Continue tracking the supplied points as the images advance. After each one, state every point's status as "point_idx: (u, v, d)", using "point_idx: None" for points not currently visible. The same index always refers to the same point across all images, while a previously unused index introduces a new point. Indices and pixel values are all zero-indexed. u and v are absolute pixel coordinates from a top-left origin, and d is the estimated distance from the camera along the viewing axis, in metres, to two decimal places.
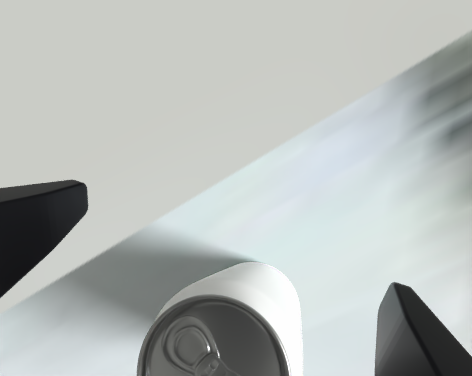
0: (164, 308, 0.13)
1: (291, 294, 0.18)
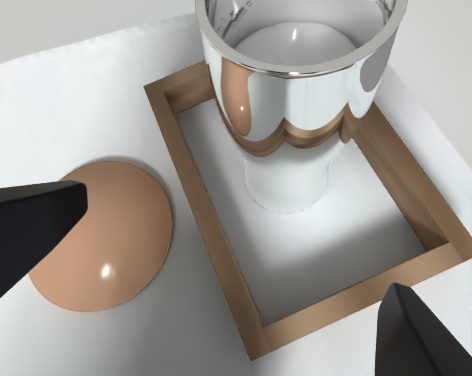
0: None
1: None
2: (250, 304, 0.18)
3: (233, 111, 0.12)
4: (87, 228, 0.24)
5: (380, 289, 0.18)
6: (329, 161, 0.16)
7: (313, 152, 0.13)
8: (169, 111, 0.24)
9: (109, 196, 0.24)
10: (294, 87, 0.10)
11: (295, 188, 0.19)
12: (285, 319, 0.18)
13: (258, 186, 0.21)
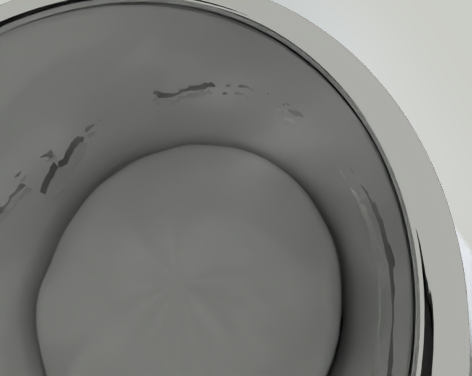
0: None
1: None
2: None
3: None
4: None
5: None
6: None
7: None
8: None
9: None
10: None
11: None
12: None
13: None
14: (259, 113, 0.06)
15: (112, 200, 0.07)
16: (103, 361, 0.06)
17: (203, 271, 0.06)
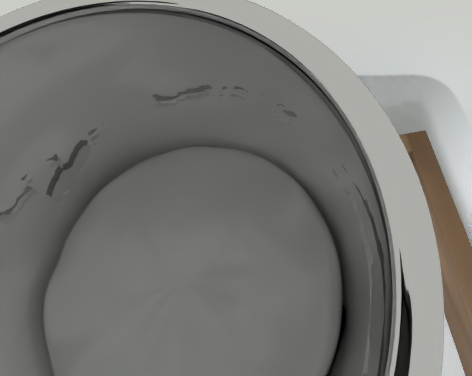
0: None
1: None
2: None
3: None
4: None
5: None
6: None
7: None
8: None
9: None
10: None
11: None
12: None
13: None
14: (255, 114, 0.06)
15: (116, 201, 0.08)
16: (107, 358, 0.06)
17: (203, 270, 0.07)
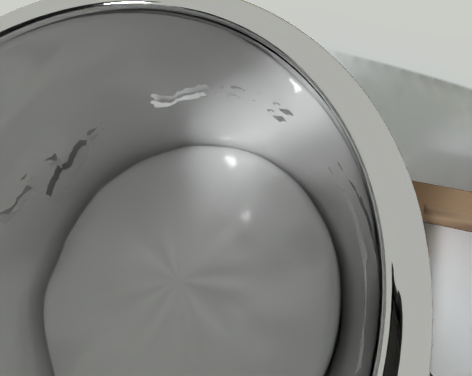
0: None
1: None
2: None
3: None
4: None
5: None
6: None
7: None
8: None
9: None
10: None
11: None
12: None
13: None
14: (253, 113, 0.06)
15: (115, 201, 0.08)
16: (106, 356, 0.06)
17: (202, 269, 0.07)
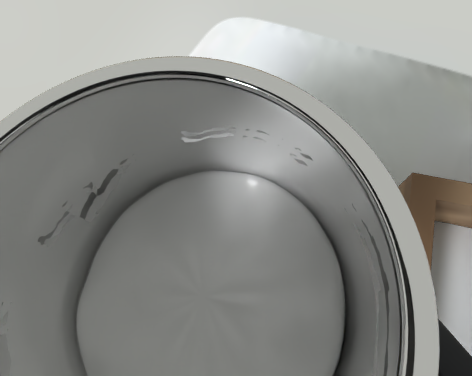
0: None
1: None
2: None
3: None
4: None
5: None
6: None
7: None
8: (430, 235, 0.16)
9: None
10: None
11: None
12: None
13: None
14: (273, 152, 0.07)
15: (141, 222, 0.08)
16: (139, 365, 0.07)
17: (224, 286, 0.07)
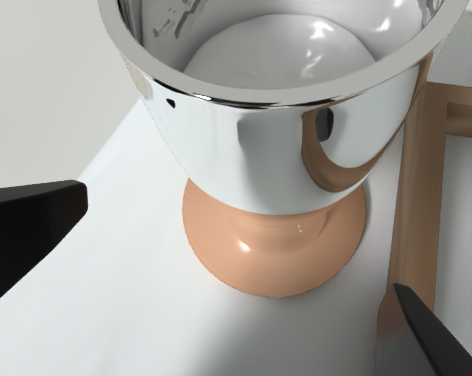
0: None
1: None
2: None
3: (178, 152, 0.08)
4: None
5: None
6: None
7: (306, 207, 0.09)
8: (443, 130, 0.18)
9: None
10: (266, 128, 0.05)
11: (286, 232, 0.15)
12: None
13: (240, 225, 0.17)
14: None
15: (218, 47, 0.10)
16: None
17: (291, 81, 0.09)
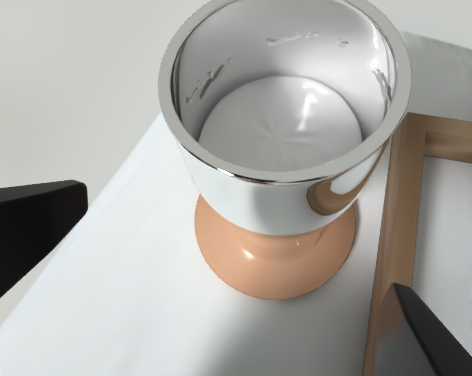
0: None
1: None
2: None
3: (207, 195, 0.10)
4: None
5: None
6: None
7: (301, 232, 0.12)
8: (421, 156, 0.20)
9: None
10: (273, 192, 0.08)
11: (286, 245, 0.18)
12: None
13: (246, 238, 0.19)
14: (323, 47, 0.12)
15: (233, 104, 0.13)
16: None
17: (290, 134, 0.12)
